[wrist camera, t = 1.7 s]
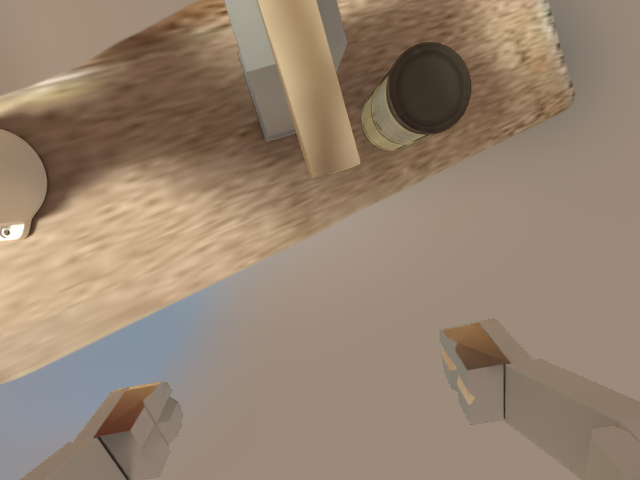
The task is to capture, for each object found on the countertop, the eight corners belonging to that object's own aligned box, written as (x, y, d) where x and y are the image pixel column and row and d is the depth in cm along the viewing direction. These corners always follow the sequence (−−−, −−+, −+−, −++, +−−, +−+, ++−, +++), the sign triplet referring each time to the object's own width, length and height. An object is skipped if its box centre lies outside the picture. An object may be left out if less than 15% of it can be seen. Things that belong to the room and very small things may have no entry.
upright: (266, 142, 49) (242, 80, 23) (238, 57, 47) (179, -115, 21) (320, 126, 49) (355, 48, 24) (295, 41, 47) (305, -145, 22)
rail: (310, 180, 25) (313, 177, 22) (216, -132, 21) (204, -185, 18) (352, 167, 25) (360, 163, 22) (265, -143, 21) (261, -198, 19)
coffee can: (375, 74, 49) (410, 25, 35) (431, 102, 51) (485, 66, 37) (350, 135, 50) (374, 111, 36) (405, 161, 52) (449, 148, 38)
